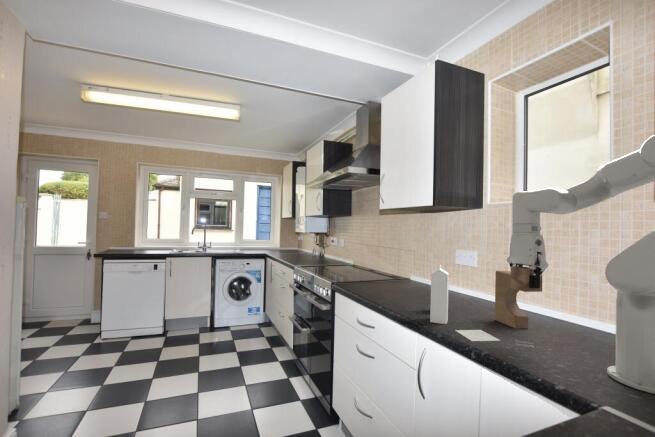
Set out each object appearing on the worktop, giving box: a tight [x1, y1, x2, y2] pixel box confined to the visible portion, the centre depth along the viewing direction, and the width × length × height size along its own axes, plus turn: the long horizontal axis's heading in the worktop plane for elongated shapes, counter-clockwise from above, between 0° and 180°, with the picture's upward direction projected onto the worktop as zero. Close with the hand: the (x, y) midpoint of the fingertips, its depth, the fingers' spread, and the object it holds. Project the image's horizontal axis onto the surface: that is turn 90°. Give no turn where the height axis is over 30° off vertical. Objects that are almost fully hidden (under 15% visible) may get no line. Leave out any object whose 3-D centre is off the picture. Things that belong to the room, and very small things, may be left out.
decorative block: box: [494, 270, 529, 330], centre depth 116 cm, size 11×6×20 cm, turn 10°
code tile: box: [514, 339, 535, 349], centre depth 95 cm, size 10×10×1 cm
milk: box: [429, 264, 450, 325], centre depth 117 cm, size 6×6×22 cm
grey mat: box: [454, 329, 501, 342], centre depth 101 cm, size 10×10×1 cm
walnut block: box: [510, 266, 543, 293], centre depth 95 cm, size 6×6×7 cm
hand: (526, 285), depth 95 cm, fingers closed on walnut block, 6 cm apart
